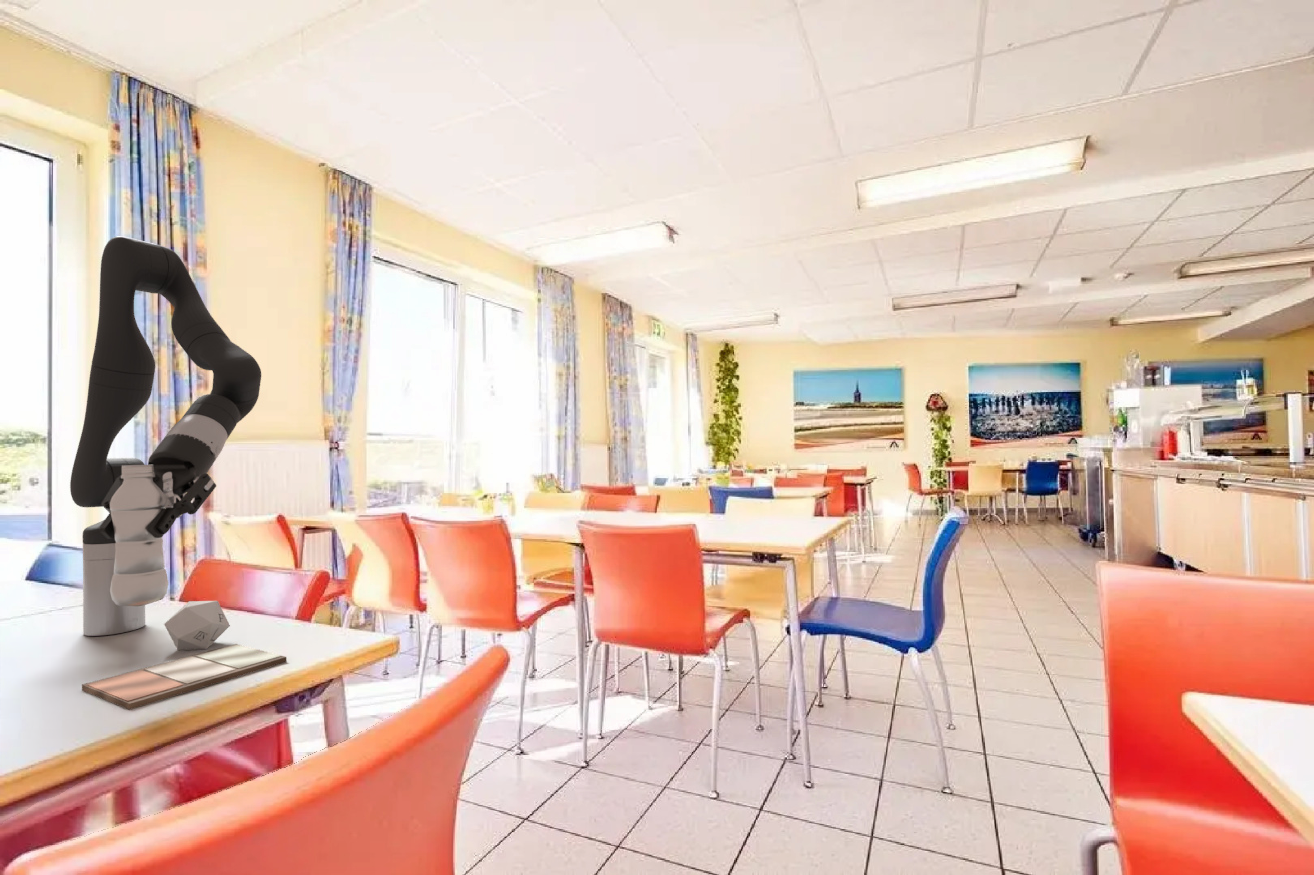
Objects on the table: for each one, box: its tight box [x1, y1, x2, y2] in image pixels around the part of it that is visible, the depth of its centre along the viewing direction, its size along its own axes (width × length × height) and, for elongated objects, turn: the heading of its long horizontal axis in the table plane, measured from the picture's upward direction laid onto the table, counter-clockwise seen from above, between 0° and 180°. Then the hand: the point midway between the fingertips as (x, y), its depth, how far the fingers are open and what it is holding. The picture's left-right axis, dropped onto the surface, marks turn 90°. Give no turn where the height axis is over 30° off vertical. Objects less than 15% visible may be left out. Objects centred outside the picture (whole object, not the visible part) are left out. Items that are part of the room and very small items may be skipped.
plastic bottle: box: [110, 464, 169, 606], centre depth 91 cm, size 6×7×20 cm
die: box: [163, 600, 231, 651], centre depth 113 cm, size 8×9×10 cm
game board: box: [81, 643, 287, 710], centre depth 98 cm, size 15×21×1 cm
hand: (130, 534), depth 90 cm, fingers closed on plastic bottle, 6 cm apart
